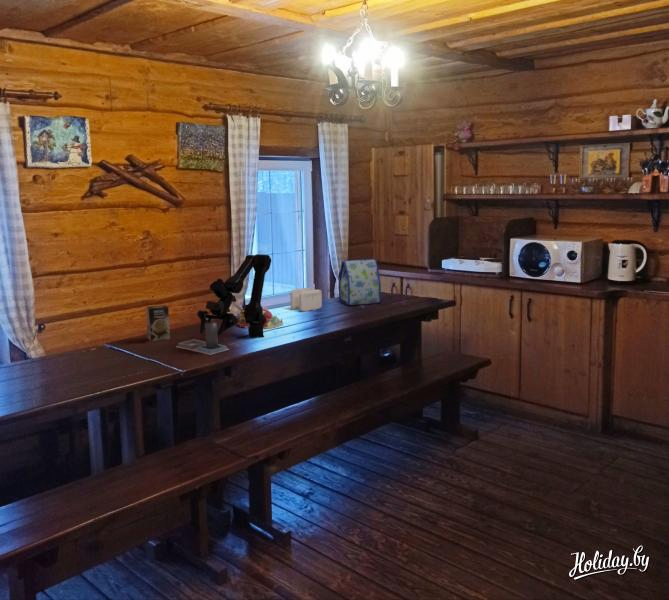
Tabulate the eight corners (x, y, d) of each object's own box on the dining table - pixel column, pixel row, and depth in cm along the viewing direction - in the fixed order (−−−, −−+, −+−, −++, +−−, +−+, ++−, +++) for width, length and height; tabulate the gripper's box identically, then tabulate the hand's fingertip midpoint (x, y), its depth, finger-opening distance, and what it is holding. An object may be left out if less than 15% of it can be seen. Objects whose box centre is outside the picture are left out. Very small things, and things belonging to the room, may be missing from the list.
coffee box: (150, 343, 312) (148, 308, 309) (147, 340, 318) (145, 306, 315) (170, 340, 316) (168, 306, 314) (167, 337, 322) (165, 304, 319)
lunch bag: (369, 299, 416) (369, 256, 411) (382, 303, 401) (382, 259, 396) (336, 302, 406) (336, 259, 401) (349, 307, 391) (348, 262, 387)
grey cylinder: (215, 348, 298) (213, 321, 295) (220, 350, 294) (218, 323, 291) (204, 349, 295) (203, 322, 293) (209, 352, 291) (208, 324, 289)
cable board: (175, 348, 301) (175, 343, 301) (195, 343, 310) (194, 338, 309) (210, 356, 287) (210, 351, 287) (229, 351, 296) (229, 345, 295)
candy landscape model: (227, 328, 342) (227, 310, 341) (247, 318, 365) (246, 301, 363) (273, 330, 335) (273, 312, 334) (290, 321, 357) (290, 303, 356)
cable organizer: (311, 306, 394) (310, 287, 392) (322, 309, 386) (322, 289, 384) (290, 310, 385) (289, 290, 383) (301, 313, 377) (301, 292, 375)
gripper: (198, 292, 298) (182, 321, 290) (232, 295, 289) (218, 325, 281) (210, 306, 306) (195, 335, 298) (244, 310, 297) (230, 340, 290)
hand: (209, 333), depth 292 cm, fingers open, 9 cm apart
